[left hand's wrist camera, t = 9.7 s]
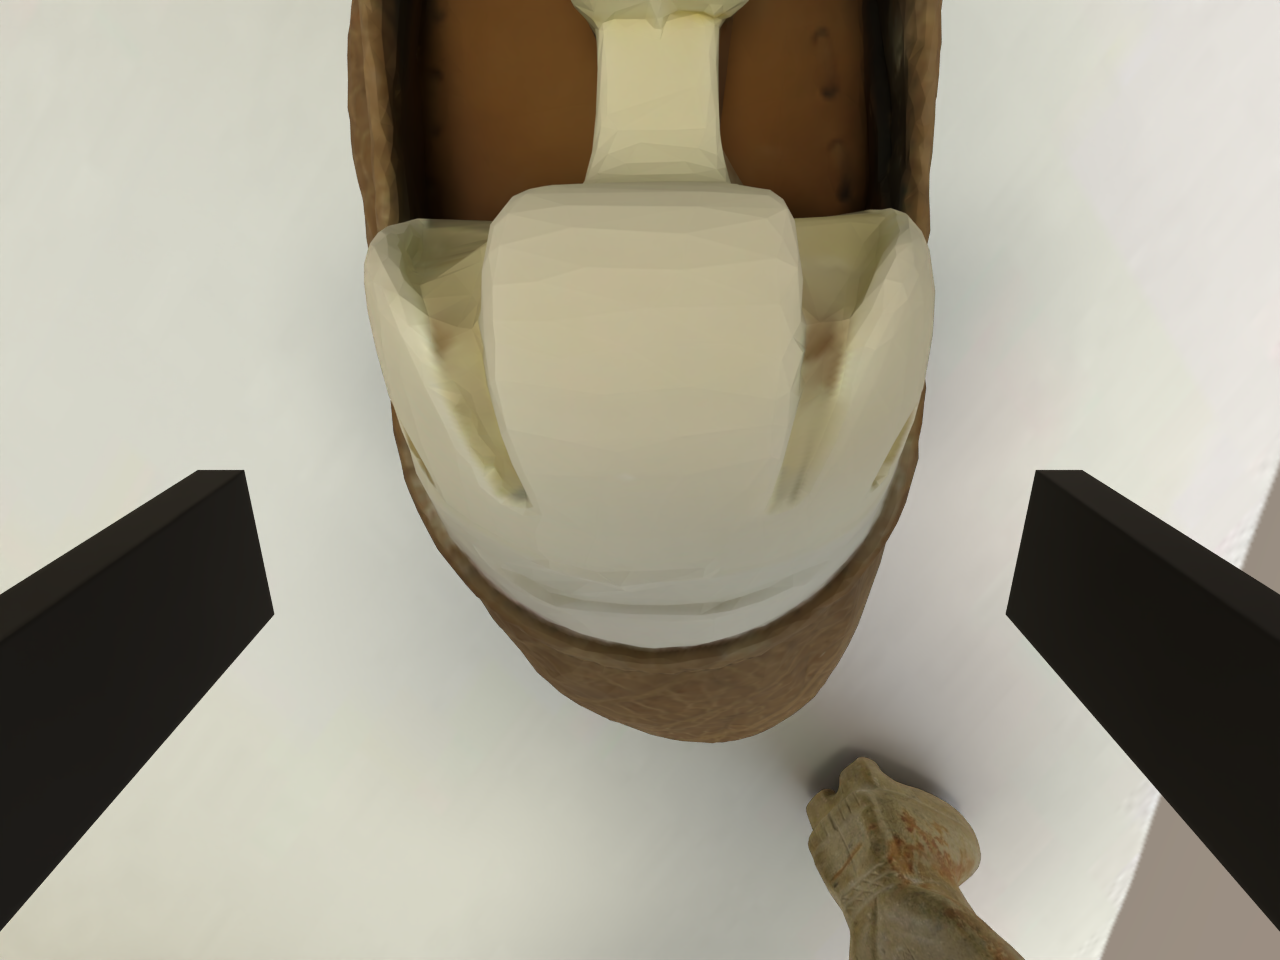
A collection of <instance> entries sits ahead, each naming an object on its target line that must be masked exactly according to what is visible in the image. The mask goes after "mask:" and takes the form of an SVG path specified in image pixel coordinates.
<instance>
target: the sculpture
mask: <svg viewBox="0 0 1280 960" xmlns="http://www.w3.org/2000/svg"><path fill="white" fill-rule="evenodd" d="M806 812H807V815H808V818H809V821H810V824H811V826H812V829H813V831H812V833H811V835H810V837H809V841H808V846H809V850H810V852H811V854H812V857H813V859H814V862H815V865H816V867H817V869H818V871H819V873H820V875H821V877H822V879H823V881H824V883H825V885H826V887H827V888H828V890H829V892H830V894H831V895H832V897H833V898H834V900H835V901H836V902H837V904H838V905H839V907H840V908H841V910H842V912H843V914H844V916H845V919H846V921H847V924H848V926H849V929H850V951H849V960H1025V959H1024V958H1023V957H1022V956H1021V955H1020V954H1019V953H1018V952H1017V951H1016V950H1015V949H1014V948H1013V947H1012V946H1011V945H1009V944H1008V943H1007V942H1006V941H1005V940H1004V939H1002V938H1001V937H1000V936H999V935H998V934H997V933H996V932H995V931H993V930H992V929H991V928H990V927H989V926H988V925H987V924H986V923H985V922H984V921H983V920H981V919H980V918H979V917H978V916H977V915H976V914H975V912H974V911H973V909H972V908H971V906H970V905H969V903H968V902H967V900H966V899H965V897H964V896H963V894H962V892H961V890H960V889H959V886H960V885H961V884H962V883H964V882H965V881H966V880H967V879H968V878H969V877H971V876H972V875H973V874H974V872H975V871H976V870H977V868H978V867H979V864H980V860H981V853H980V848H979V844H978V840H977V838H976V835H975V833H974V831H973V829H972V828H971V826H970V825H969V823H968V822H967V821H966V820H965V818H964V817H963V816H962V815H961V814H960V813H959V812H958V811H957V810H956V809H955V808H953V807H952V806H951V805H949V804H948V803H946V802H945V801H943V800H941V799H939V798H938V797H936V796H934V795H932V794H930V793H927V792H925V791H923V790H920V789H918V788H914V787H911V786H907V785H904V784H902V783H899V782H896V781H894V780H893V779H891V778H890V777H889V776H887V775H886V774H885V773H883V772H882V771H881V770H880V768H879V766H878V764H877V763H876V762H875V761H873V760H871V759H869V758H866V757H859V758H857V759H856V760H855V761H854V762H853V763H851V764H850V765H849V766H847V767H846V768H845V769H843V771H842V772H841V773H840V776H839V788H838V791H837V793H836V792H835V791H834V790H832V789H823V790H821V791H820V792H819V793H817V794H816V795H815V796H814V797H813V799H812V800H811V801H810V802H809V803H808V805H807V807H806Z"/></svg>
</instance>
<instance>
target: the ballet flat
mask: <svg viewBox="0 0 1280 960" xmlns="http://www.w3.org/2000/svg"><path fill="white" fill-rule="evenodd" d="M941 7H942V0H352V6H351V19H350V27H349V33H348V53H347V59H348V112H349V117H350V129H351V145H352V154H353V160H354V165H355V169H356V174H357V179H358V183H359V187H360V190H361V194H362V198H363V203H364V213H365V224H366V238H367V244H368V252H367V255H366V259H365V263H364V285H365V293H366V301H367V309H368V315H369V319H370V324H371V328H372V333H373V337H374V342H375V347H376V351H377V355H378V358H379V362H380V365H381V369H382V373H383V376H384V380H385V383H386V387H387V391H388V394H389V397H390V399H391V409H392V420H393V431H394V436H395V440H396V444H397V448H398V452H399V456H400V460H401V464H402V469H403V474H404V479H405V482H406V484H407V487H408V490H409V492H410V495H411V497H412V499H413V502H414V504H415V506H416V508H417V511H418V513H419V515H420V517H421V519H422V521H423V523H424V525H425V526H426V528H427V530H428V532H429V534H430V536H431V538H432V540H433V542H434V543H435V545H436V547H437V549H438V550H439V551H440V553H441V554H442V555H443V557H444V558H445V559H446V561H447V562H448V563H449V564H450V565H451V567H452V568H453V569H454V570H455V572H456V573H457V574H458V575H459V577H460V578H461V579H462V580H463V582H464V583H465V584H466V585H467V586H468V587H469V589H470V590H471V591H472V592H473V593H474V594H475V595H476V596H477V597H478V598H480V600H481V601H482V602H483V604H484V606H485V607H486V609H487V610H488V612H489V613H490V615H491V617H492V618H493V619H494V621H495V622H496V623H497V624H498V625H499V627H501V628H502V629H503V630H504V632H505V633H506V634H507V635H508V636H509V638H510V639H511V640H512V641H513V642H514V643H515V644H516V646H517V647H518V648H519V649H520V650H521V651H522V653H523V654H524V655H525V657H526V658H527V659H528V661H529V662H530V663H531V665H532V666H533V667H534V669H535V670H536V671H537V672H538V673H539V674H540V675H541V676H542V677H543V678H544V679H546V680H547V681H548V682H549V683H550V684H551V685H552V686H554V687H555V688H556V689H557V690H558V691H559V692H560V693H562V694H563V695H565V696H566V697H568V698H569V699H571V700H572V701H574V702H576V703H577V704H579V705H581V706H583V707H585V708H587V709H589V710H591V711H593V712H595V713H597V714H599V715H601V716H603V717H605V718H608V719H609V720H612V721H615V722H619V723H622V724H624V725H627V726H630V727H632V728H635V729H638V730H640V731H643V732H646V733H648V734H651V735H656V736H660V737H664V738H668V739H673V740H680V741H690V742H705V743H715V742H727V741H734V740H739V739H743V738H746V737H750V736H754V735H756V734H758V733H761V732H763V731H765V730H767V729H769V728H772V727H773V726H775V725H777V724H778V723H780V722H782V721H783V720H785V719H786V718H788V717H790V716H791V715H793V714H794V713H795V712H797V711H798V710H799V709H801V708H802V707H803V706H804V705H805V704H807V703H808V702H809V701H810V700H811V699H813V698H814V697H815V695H816V694H817V693H818V691H819V690H820V688H821V687H822V686H823V685H824V684H825V682H826V681H827V679H828V677H829V676H830V674H831V673H832V671H833V670H834V669H835V667H836V666H837V664H838V662H839V661H840V659H841V657H842V655H843V654H844V652H845V650H846V648H847V646H848V645H849V643H850V641H851V638H852V636H853V634H854V632H855V630H856V628H857V626H858V623H859V620H860V618H861V615H862V612H863V610H864V607H865V604H866V601H867V598H868V596H869V593H870V590H871V587H872V584H873V582H874V579H875V576H876V573H877V571H878V568H879V565H880V562H881V558H882V555H883V551H884V547H885V544H886V542H887V540H888V538H889V536H890V535H891V533H892V531H893V529H894V528H895V526H896V524H897V522H898V520H899V518H900V515H901V513H902V510H903V508H904V506H905V503H906V500H907V496H908V493H909V489H910V486H911V482H912V479H913V475H914V472H915V468H916V465H917V462H918V440H919V435H920V431H921V426H922V419H923V408H924V400H925V392H926V383H925V375H926V370H927V364H928V359H929V353H930V347H931V341H932V334H933V319H934V302H935V287H934V280H933V273H932V266H931V258H930V251H929V248H928V245H927V243H928V238H929V234H930V208H929V173H930V166H931V159H932V150H933V137H934V123H935V102H936V97H937V88H938V78H939V63H940V50H941V43H942V41H941Z"/></svg>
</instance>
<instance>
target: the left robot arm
mask: <svg viewBox="0 0 1280 960" xmlns="http://www.w3.org/2000/svg"><path fill="white" fill-rule="evenodd" d="M273 615H274V610H273V606H272V601H271V596H270V591H269V586H268V582H267V577H266V572H265V567H264V563H263V558H262V553H261V548H260V543H259V539H258V534H257V529H256V524H255V520H254V515H253V510H252V505H251V500H250V496H249V491H248V486H247V481H246V477H245V472H244V470H197V471H196V472H194V473H192V474H191V475H189V476H188V477H186V478H184V479H183V480H181V481H180V482H178V483H177V484H175V485H173V486H172V487H170V488H169V489H167V490H165V491H164V492H162V493H161V494H159V495H158V496H156V497H154V498H153V499H151V500H150V501H148V502H146V503H145V504H143V505H142V506H140V507H138V508H137V509H135V510H134V511H132V512H131V513H129V514H127V515H126V516H124V517H123V518H121V519H119V520H118V521H116V522H115V523H113V524H111V525H110V526H108V527H107V528H105V529H104V530H102V531H100V532H99V533H97V534H96V535H94V536H92V537H91V538H89V539H88V540H86V541H85V542H83V543H81V544H80V545H78V546H77V547H75V548H73V549H72V550H70V551H69V552H67V553H65V554H64V555H62V556H61V557H59V558H58V559H56V560H54V561H53V562H51V563H50V564H48V565H46V566H45V567H43V568H42V569H40V570H39V571H37V572H35V573H34V574H32V575H31V576H29V577H27V578H26V579H24V580H23V581H21V582H19V583H18V584H16V585H15V586H13V587H12V588H10V589H8V590H7V591H5V592H4V593H2V594H0V931H1V930H2V929H3V928H4V926H5V925H6V924H7V923H8V922H9V921H10V919H11V918H12V917H13V916H14V915H15V914H16V913H17V911H18V910H19V909H20V908H21V907H22V906H23V904H24V903H25V902H26V901H27V900H28V899H29V897H30V896H31V895H32V894H33V893H34V892H35V891H36V889H37V888H38V887H39V886H40V885H41V884H42V882H43V881H44V880H45V879H46V878H47V877H48V876H49V874H50V873H51V872H52V871H53V870H54V869H55V867H56V866H57V865H58V864H59V863H60V862H61V860H62V859H63V858H64V857H65V856H66V855H67V854H68V852H69V851H70V850H71V849H72V848H73V847H74V845H75V844H76V843H77V842H78V841H79V840H80V839H81V837H82V836H83V835H84V834H85V833H86V832H87V830H88V829H89V828H90V827H91V826H92V825H93V823H94V822H95V821H96V820H97V819H98V818H99V817H100V815H101V814H102V813H103V812H104V811H105V810H106V808H107V807H108V806H109V805H110V804H111V803H112V802H113V800H114V799H115V798H116V797H117V796H118V795H119V793H120V792H121V791H122V790H123V789H124V788H125V786H126V785H127V784H128V783H129V782H130V781H131V780H132V778H133V777H134V776H135V775H136V774H137V773H138V771H139V770H140V769H141V768H142V767H143V766H144V764H145V763H146V762H147V761H148V760H149V759H150V758H151V756H152V755H153V754H154V753H155V752H156V751H157V749H158V748H159V747H160V746H161V745H162V744H163V743H164V741H165V740H166V739H167V738H168V737H169V736H170V734H171V733H172V732H173V731H174V730H175V729H176V727H177V726H178V725H179V724H180V723H181V722H182V721H183V719H184V718H185V717H186V716H187V715H188V714H189V712H190V711H191V710H192V709H193V708H194V707H195V706H196V704H197V703H198V702H199V701H200V700H201V699H202V697H203V696H204V695H205V694H206V693H207V692H208V690H209V689H210V688H211V687H212V686H213V685H214V684H215V682H216V681H217V680H218V679H219V678H220V677H221V675H222V674H223V673H224V672H225V671H226V670H227V669H228V667H229V666H230V665H231V664H232V663H233V662H234V660H235V659H236V658H237V657H238V656H239V655H240V653H241V652H242V651H243V650H244V649H245V648H246V647H247V645H248V644H249V643H250V642H251V641H252V640H253V638H254V637H255V636H256V635H257V634H258V633H259V631H260V630H261V629H262V628H263V627H264V626H265V625H266V623H267V622H268V621H269V620H270V619H271V618H272V616H273ZM1006 615H1007V616H1008V618H1009V619H1010V620H1011V621H1012V622H1013V623H1014V625H1015V626H1016V627H1017V628H1018V629H1019V630H1020V631H1021V633H1022V634H1023V635H1024V636H1025V637H1026V638H1027V640H1028V641H1029V642H1030V643H1031V644H1032V645H1033V647H1034V648H1035V649H1036V650H1037V651H1038V652H1039V653H1040V655H1041V656H1042V657H1043V658H1044V659H1045V660H1046V662H1047V663H1048V664H1049V665H1050V666H1051V667H1052V669H1053V670H1054V671H1055V672H1056V673H1057V674H1058V675H1059V677H1060V678H1061V679H1062V680H1063V681H1064V682H1065V684H1066V685H1067V686H1068V687H1069V688H1070V689H1071V690H1072V692H1073V693H1074V694H1075V695H1076V696H1077V697H1078V699H1079V700H1080V701H1081V702H1082V703H1083V704H1084V706H1085V707H1086V708H1087V709H1088V710H1089V711H1090V712H1091V714H1092V715H1093V716H1094V717H1095V718H1096V719H1097V721H1098V722H1099V723H1100V724H1101V725H1102V726H1103V727H1104V729H1105V730H1106V731H1107V732H1108V733H1109V734H1110V736H1111V737H1112V738H1113V739H1114V740H1115V741H1116V743H1117V744H1118V745H1119V746H1120V747H1121V748H1122V749H1123V751H1124V752H1125V753H1126V754H1127V755H1128V756H1129V758H1130V759H1131V760H1132V761H1133V762H1134V763H1135V765H1136V766H1137V767H1138V768H1139V769H1140V770H1141V771H1142V773H1143V774H1144V775H1145V776H1146V777H1147V778H1148V780H1149V781H1150V782H1151V783H1152V784H1153V785H1154V786H1155V788H1156V789H1157V790H1158V791H1159V792H1160V793H1161V795H1162V796H1163V797H1164V798H1165V799H1166V800H1167V802H1168V803H1169V804H1170V805H1171V806H1172V807H1173V808H1174V810H1175V811H1176V812H1177V813H1178V814H1179V815H1180V817H1181V818H1182V819H1183V820H1184V821H1185V822H1186V823H1187V825H1188V826H1189V827H1190V828H1191V829H1192V830H1193V832H1194V833H1195V834H1196V835H1197V836H1198V837H1199V839H1200V840H1201V841H1202V842H1203V843H1204V844H1205V845H1206V847H1207V848H1208V849H1209V850H1210V851H1211V852H1212V854H1213V855H1214V856H1215V857H1216V858H1217V859H1218V860H1219V862H1220V863H1221V864H1222V865H1223V866H1224V867H1225V869H1226V870H1227V871H1228V872H1229V873H1230V874H1231V876H1232V877H1233V878H1234V879H1235V880H1236V881H1237V882H1238V884H1239V885H1240V886H1241V887H1242V888H1243V889H1244V891H1245V892H1246V893H1247V894H1248V895H1249V896H1250V898H1251V899H1252V900H1253V901H1254V902H1255V903H1256V904H1257V906H1258V907H1259V908H1260V909H1261V910H1262V911H1263V913H1264V914H1265V915H1266V916H1267V917H1268V918H1269V919H1270V921H1271V922H1272V923H1273V924H1274V925H1275V926H1276V928H1277V929H1278V930H1279V931H1280V595H1279V594H1278V593H1276V592H1275V591H1273V590H1272V589H1270V588H1268V587H1267V586H1265V585H1264V584H1262V583H1260V582H1259V581H1257V580H1256V579H1254V578H1253V577H1251V576H1249V575H1248V574H1246V573H1245V572H1243V571H1241V570H1240V569H1238V568H1237V567H1235V566H1234V565H1232V564H1230V563H1229V562H1227V561H1226V560H1224V559H1222V558H1221V557H1219V556H1218V555H1216V554H1215V553H1213V552H1211V551H1210V550H1208V549H1207V548H1205V547H1203V546H1202V545H1200V544H1199V543H1197V542H1195V541H1194V540H1192V539H1191V538H1189V537H1188V536H1186V535H1184V534H1183V533H1181V532H1180V531H1178V530H1176V529H1175V528H1173V527H1172V526H1170V525H1168V524H1167V523H1165V522H1164V521H1162V520H1161V519H1159V518H1157V517H1156V516H1154V515H1153V514H1151V513H1149V512H1148V511H1146V510H1145V509H1143V508H1142V507H1140V506H1138V505H1137V504H1135V503H1134V502H1132V501H1130V500H1129V499H1127V498H1126V497H1124V496H1122V495H1121V494H1119V493H1118V492H1116V491H1115V490H1113V489H1111V488H1110V487H1108V486H1107V485H1105V484H1103V483H1102V482H1100V481H1099V480H1097V479H1096V478H1094V477H1092V476H1091V475H1089V474H1088V473H1086V472H1084V471H1083V470H1036V472H1035V477H1034V481H1033V486H1032V491H1031V496H1030V500H1029V505H1028V510H1027V515H1026V520H1025V524H1024V529H1023V534H1022V539H1021V543H1020V548H1019V553H1018V558H1017V562H1016V567H1015V572H1014V577H1013V582H1012V586H1011V591H1010V596H1009V601H1008V605H1007V610H1006Z"/></svg>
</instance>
